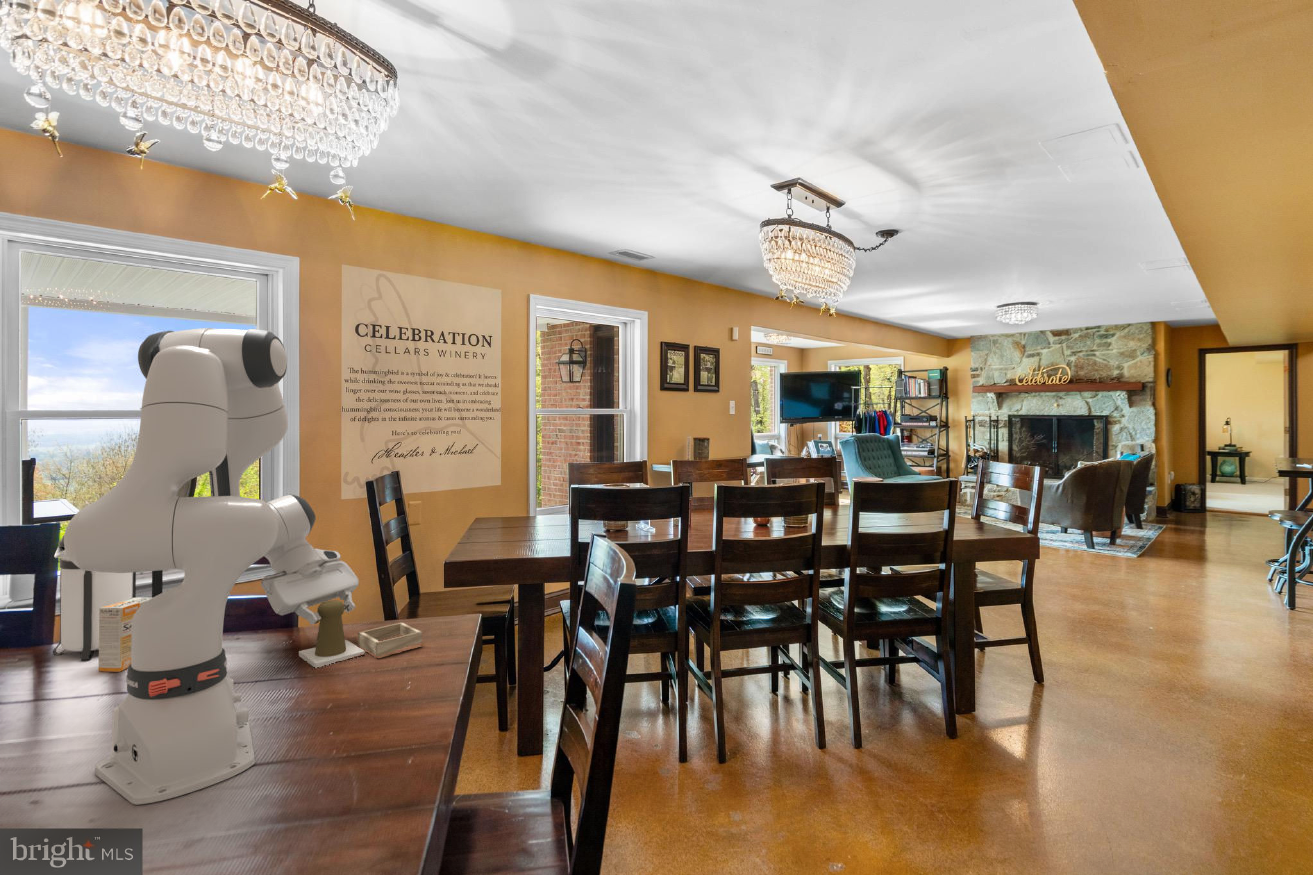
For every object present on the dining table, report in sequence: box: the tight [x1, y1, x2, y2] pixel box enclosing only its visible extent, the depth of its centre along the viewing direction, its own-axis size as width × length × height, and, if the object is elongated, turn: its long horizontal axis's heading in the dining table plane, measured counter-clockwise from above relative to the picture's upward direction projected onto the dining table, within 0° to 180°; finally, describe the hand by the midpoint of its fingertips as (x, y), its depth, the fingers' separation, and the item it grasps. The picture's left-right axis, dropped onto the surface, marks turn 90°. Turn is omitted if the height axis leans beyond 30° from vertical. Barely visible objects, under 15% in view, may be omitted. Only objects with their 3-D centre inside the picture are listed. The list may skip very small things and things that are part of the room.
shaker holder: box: [357, 622, 423, 656], centre depth 138 cm, size 10×10×4 cm
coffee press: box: [52, 535, 164, 662], centre depth 135 cm, size 17×16×30 cm
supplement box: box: [98, 596, 152, 673], centre depth 126 cm, size 8×5×13 cm, turn 179°
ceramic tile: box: [298, 639, 366, 669], centre depth 132 cm, size 10×10×1 cm
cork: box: [315, 599, 346, 657], centre depth 132 cm, size 6×6×11 cm
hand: (334, 615), depth 132 cm, fingers open, 8 cm apart
